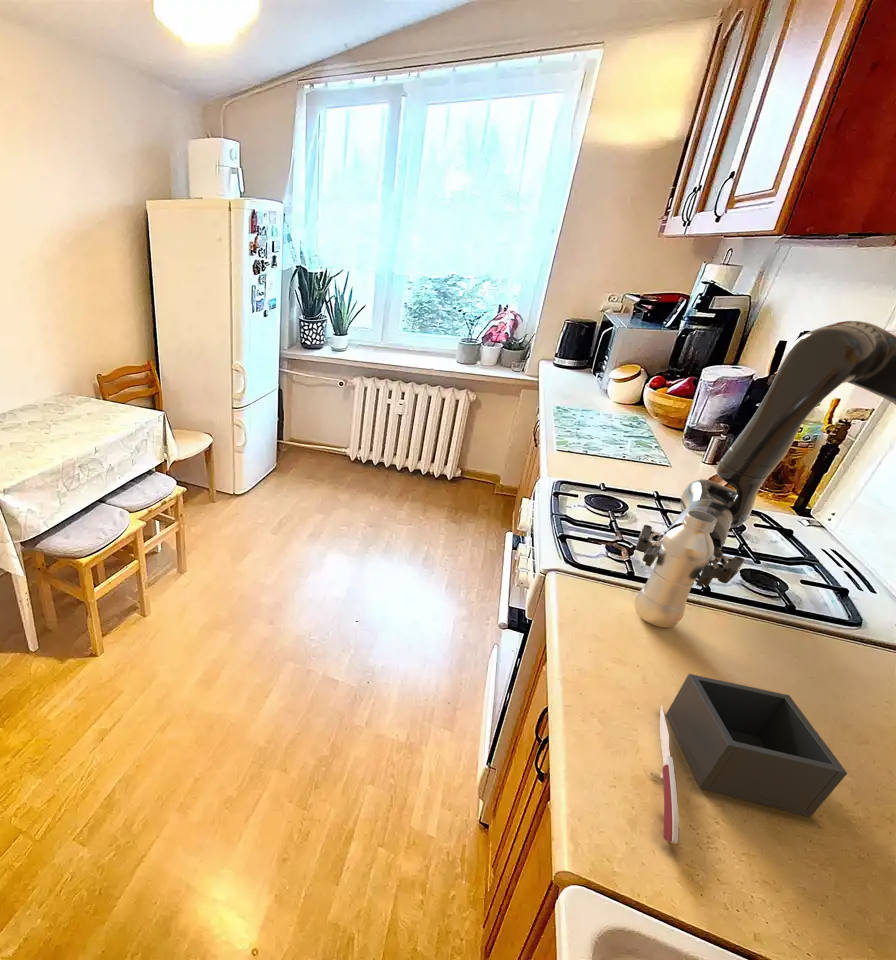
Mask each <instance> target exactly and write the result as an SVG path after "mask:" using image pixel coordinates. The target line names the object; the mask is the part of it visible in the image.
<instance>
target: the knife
mask: <svg viewBox="0 0 896 960" xmlns="http://www.w3.org/2000/svg"><path fill="white" fill-rule="evenodd" d="M663 708H664V707H663V705H662V704H660V711H659V737H660V747H661V748H660V749H661V754H662V763H663V766H662V768H661V769H662V770H661V773H660V776H659V777H660V780H662V782H663V840H665V841H666V842H669V843H671V844H673V845H676V846H677V847H678V846H679V838H680V830H681V829H680V824H679V801H678V800H679V799H678V798H679V797H678V785H677V780H678V779H677V774H676V768H675V766H674V765H675V764H674V758H673V757H672V756H671V751H670V735H669V734H670V733H669V730H668V726H667V721H666V716H665V713H664V709H663Z"/></svg>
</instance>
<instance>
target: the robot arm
mask: <svg viewBox="0 0 896 960" xmlns="http://www.w3.org/2000/svg"><path fill="white" fill-rule="evenodd" d="M845 383H848V384H851V385H853V386H856V387H858V388H861V389H863V390H866V391H868V392H870V393H872V394H874V395H877V396H879V397H881V398H883V399H885V400H887V401H888V402H890V403H892V404H893V405H895V406H896V335H895V334H893V333H892V332H889V331H887V330H886V329H884V328H882V327H880V326H878V325H876V324H873V323H870V322H866V321H861V320H845V321H839V322H838V321H837V322H834V323H832V324H828V325H824V326H822V327H819V328H815V329H813V330H810V331H808V332H806V333H805V334H803V335H801V336H799V337H797V339H796V340H794V341H793V343H792V344H791V345H790V346H789V348H788V350H787V352H786V354H785V355H784V357H783V360H782V361H781V363H780V366H779V368H778V370H777V372H776V374H775V376H774V378H773V380H772V383H771V385H770V386H769V388H768V390H767V392H766V394H765V395H764V397H763V399H762V401H761V403H760V404H759V406H758V408H757V409H756V411H755V413H754V414H753V416H752V417H751V419H749V422H748V423H747V424H746V426H744V429H743V430H742V431H741V433H740V434H739V435H738V437H737V438H736V439H735V440H734V442H732V444H731V446H730V447H729V448H728V450H727V451H726V452H725V453H724V455H723V456H722V458H721V459H720V460H719V461H718V464H717V465H716V467H715V473H716V474H717V475H718V477H719V478H720V479H721V480H723V481H724V482H725V483H727V484H728V485H730V486H731V487H732V488H734V489H732V488H729V487H727V486H725V485H722V484H720V483H718V482H716V481H714V480H710V479H697V480H694V481H692V482H691V483H689V484H688V485H687V486H686V487H685V489H684V490H683V492H682V494H681V498H680V509H681V512H680V513H679V514H678V515H677V516H676V518H675V519H674V520H673V522H672V523H671V524H670V526H669V527H668V529H667V530H665V531H661V532H657V531H655V530H654V529H653V527H652V526H651V525H649V524H644V525H643V526H642V529H641V531H640V534H639V535H638V539H637V542H636V545H635V550H636V551H638V552H641V553H644V554H643V557H642V559H641V560H642V562H644V563H645V564H644V566H646V567H648V568H649V567H650V568H651V567H652V565H653V563H654V562H655V561H656V560H657V558H658V555H659V551H660V547H661V543H662V540H663V537H664V535H665V534H666V533H667V532H668V531H670V530H672V529H674V528H676V527H678V526H681V525H683V523H682V520H683V519H684V518H685V516H686V514H687V512H688V511H690V510H697V511H702V512H705V513H708V514H710V515H712V516H714V517H715V518H716V519H717V523H716V524H715V526H714V530H713V532H711V533H709V534H710V537H711V539H712V542H713V545H714V555H713V556H712V558H711V559H710V560H709V562H708V563H707V564H706V566H705V567H704V568H703V570H702V571H701V572H700V575H699V577H698V579H697V582H696V584H695V586H697V587H700V588H702V587H703V586H706V587H708V586H710V584H711V582H712V581H713V579H717V581H718V582H719V583H722V584H729V582H730V581H731V580H732V579H734V577H735V576H736V575H737V574H739V571H740V569H741V568H742V565H743V564H744V563H745V558H743V557H742V556H738V555H735V556H734V557H731V556H726V555H724V554H723V551H722V548H723V547H724V545H725V544H726V541H727V538H728V536H729V531H730V529H733V528H737V527H740V526H742V525H744V524H745V522H747V520H749V518H750V516H751V514H752V510H753V509H754V506H755V500H756V498H757V495H758V492H759V491H760V488H761V487H762V485H763V484H764V482H765V481H766V480H767V478H768V477H769V476H770V475H771V473H773V471H774V470H775V469H776V468H777V466H778V465H779V464H780V463H781V461H783V460H784V458H785V457H786V455H787V454H788V452H789V450H790V449H791V447H792V445H793V443H794V441H795V439H796V437H797V435H798V432H799V431H800V428H801V427H802V425H803V423H804V422H805V420H806V419H807V417H808V416H809V415H810V414H811V412H812V411H813V410H814V409H816V407H817V406H818V405H819V404H820V403H821V402H822V401H823V400H824V399H825V398H827V397H828V396H829V395H830V394H831V393H832V392H833V391H835V390H836V389H837V388H838V387H840V386H841V385H842V384H845ZM654 540H656V541H654ZM718 563H721V566H722V567H720V566H719V564H718Z"/></svg>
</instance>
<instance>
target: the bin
mask: <svg viewBox="0 0 896 960" xmlns="http://www.w3.org/2000/svg"><path fill="white" fill-rule="evenodd" d="M665 718H666V719H667V721H668V723H669V725H670V728H671V730H672V732H673V734H674V736H675V738H676V740H677V743H678V745H679V747H680V749H681V751H682V753H683V756H684V758H685V761H686V762H687V764H688V767H689V769H690V771H691V773H692V775H693V777H694V780H695V782H696V784H697V786H698V789H700V790H704V791H708V792H712V793H716V794H720V795H723V796H727V797H731V798H734V799H739V800H743V801H746V802H749V803H754V804H758V805H762V806H765V807H769V808H774V809H777V810H781V811H784V812H789V813H792V814H796V815H800V816H804V817H807V818H812V816H813V815H814V814H815V812H816V811H817V810H818V809H819V808H820V806H822V804H823V803H824V802H825V801H826V799H827V798H828V797H829V796H830V795H831V794H832V793H833V791H834V790H835V789H836V788H837V787H838V785H839V784H840V783H841V782H842V781H843V780H844V779H845V778H846V776H847V775H848V772H847V771H846V769H845V767H843V765H842V764H841V763H840V761H839V760H838V759H837V757H836V756H835V755H834V753H833V752H832V750H831V749H830V748H829V746H828V745H827V744H826V742H825V740H823V738H822V737H821V736H820V735H819V733H818V731H817V730H816V729H815V728H814V726H813V725H812V724H811V722H810V721H809V720H808V719H807V717H806V716H805V714H804V712H802V710H801V709H800V707H798V705H797V703H796V702H795V700H794V699H793V698H792V697H791V695H789V694H785V693H781V692H776V691H771V690H767V689H764V688H763V689H762V688H758V687H753V686H749V685H744V684H738V683H734V682H729V681H724V680H720V679H715V678H710V677H706V676H701V675H697V674H693V673H688V674H687V676H686V678H685V680H684V681H683V683H682V685H681V686H680V688H679V690H678V692H677V694H676V696H675V697H674V699H673V701H672V702H671V704H670V706H669V708H668V710H667V711H666V714H665Z"/></svg>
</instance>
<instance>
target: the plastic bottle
mask: <svg viewBox="0 0 896 960" xmlns="http://www.w3.org/2000/svg"><path fill="white" fill-rule="evenodd" d="M682 523H683V525H681V526H678V527H676V528H674V529H672V530H670V531H668V532H667V533H666V534H665V535H664V537H663V540H662V543H661V547H660V551H659V555H658V557H657V558H656V560H655V561H656V562H655V564H654V567H653V570H652V573H651V574H650V576H649V577H648V579H647V581H646V582H645V584H644V586H643V587H642V588H641V589H640V590H639V592H638V593H637V595H636V596H635V600H634V605H633V606H634V609H635V612H636V614H637V615H638V616H639V618H641V619H642V620H643V621H645V622H646V623H648V624H650V625H654V626H656V627H659V628H670V627H673V626H676V625H677V624H678V623H679V622H680V621H681V620H682V618H683V617H684V613H685V610H686V603H687V600H688V598H689V595H690V592H691V590H692V587H693V586H694V584H695V582H696V581H697V580H698V578H699V576H700V575H701V571H702V570H703V568H704V567H705V566H706V564H707V563H708V562H709V560H710V559H711V558H712V556H713V555H714V545H713V542H712V539H711V537H710V534H709V533H711V532H713V530H714V526H715V524H716V523H717V519H716V518H715V517H714V516H712V515H710V514H708V513H705V512H702V511H697V510H690V511H688V512H687V514H686V516H685V518H684V519H683V520H682Z"/></svg>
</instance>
